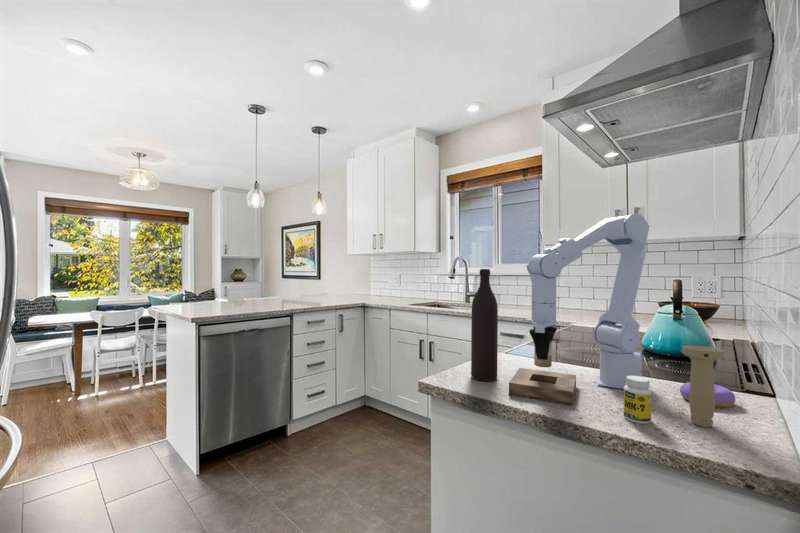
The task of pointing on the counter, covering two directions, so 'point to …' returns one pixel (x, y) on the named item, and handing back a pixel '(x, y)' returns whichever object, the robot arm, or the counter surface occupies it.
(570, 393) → the socket block
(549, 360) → the peg
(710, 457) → the counter surface
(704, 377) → the handle
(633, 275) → the robot arm
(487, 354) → the wine bottle
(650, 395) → the supplement bottle
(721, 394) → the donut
